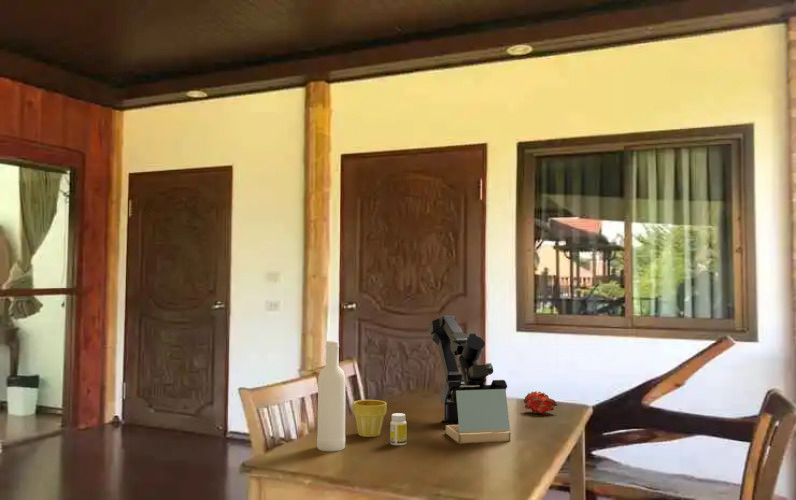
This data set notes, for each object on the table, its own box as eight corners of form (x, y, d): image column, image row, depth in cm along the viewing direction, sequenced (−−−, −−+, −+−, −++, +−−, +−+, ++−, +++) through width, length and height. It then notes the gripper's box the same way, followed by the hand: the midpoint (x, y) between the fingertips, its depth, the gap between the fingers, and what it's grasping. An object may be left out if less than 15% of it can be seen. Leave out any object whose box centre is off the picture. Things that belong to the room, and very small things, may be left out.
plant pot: (392, 432, 204) (392, 401, 204) (377, 440, 194) (377, 406, 195) (362, 429, 208) (362, 398, 209) (346, 436, 199) (346, 403, 199)
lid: (455, 390, 195) (456, 390, 194) (505, 389, 198) (505, 388, 198) (459, 433, 191) (460, 433, 190) (509, 431, 194) (510, 431, 194)
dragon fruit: (521, 415, 239) (554, 423, 234) (519, 405, 232) (554, 413, 228) (526, 394, 243) (559, 402, 239) (525, 384, 237) (558, 391, 232)
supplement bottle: (408, 442, 192) (408, 413, 192) (403, 446, 187) (403, 416, 188) (393, 441, 193) (393, 412, 194) (387, 444, 189) (388, 415, 189)
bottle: (313, 446, 187) (315, 340, 188) (340, 443, 190) (341, 339, 191) (321, 452, 180) (323, 342, 181) (349, 450, 183) (350, 341, 184)
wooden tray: (445, 433, 203) (445, 425, 203) (494, 431, 207) (494, 423, 207) (458, 443, 191) (458, 435, 191) (510, 441, 194) (510, 432, 194)
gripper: (447, 354, 199) (458, 397, 187) (504, 353, 203) (519, 395, 192) (439, 377, 206) (450, 419, 195) (495, 375, 210) (509, 417, 199)
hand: (482, 412), depth 195 cm, fingers open, 9 cm apart
